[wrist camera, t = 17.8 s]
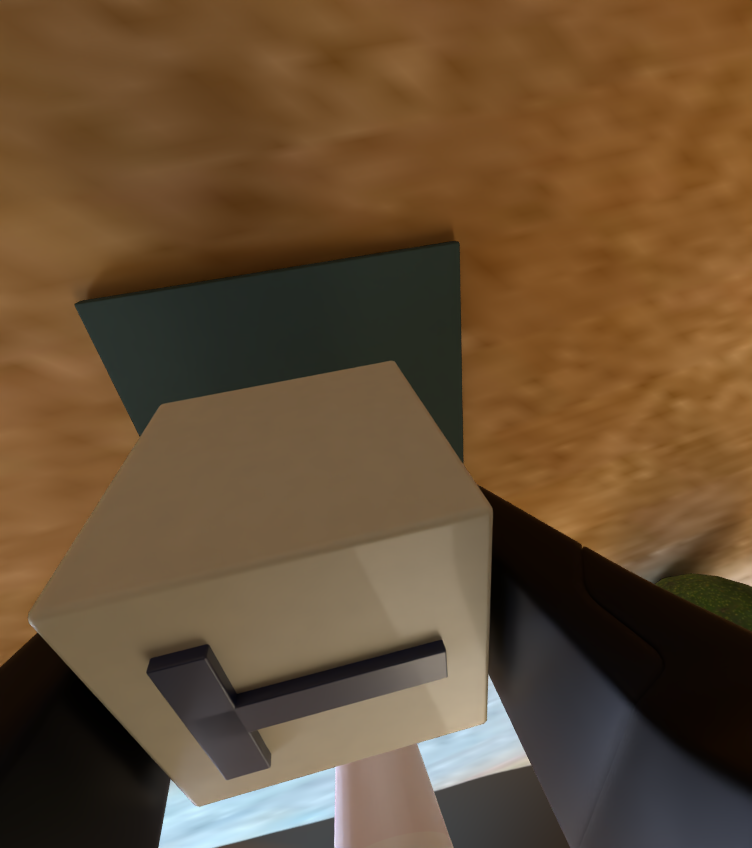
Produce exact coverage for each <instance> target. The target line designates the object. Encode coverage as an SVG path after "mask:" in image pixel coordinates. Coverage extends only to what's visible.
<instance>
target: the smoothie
mask: <svg viewBox="0 0 752 848" xmlns="http://www.w3.org/2000/svg"><path fill="white" fill-rule="evenodd" d="M334 837H335V840H334V842H335V843H334V848H453V845H452V842H451V839H450V837H449V834H448V832H447V828H446V826H445V823H444V820H443V817H442V814H441V811H440V808H439V805H438V803H437V800H436V797H435V794H434V791H433V788H432V785H431V782H430V779H429V777H428V774H427V771H426V768H425V765H424V762H423V759H422V756H421V754H420V751H419V748H418V745H417V743H416V744H412V745H409V746H406V747H402V748H399V749H395V750H392V751H388V752H385V753H382V754H378V755H375V756H371V757H368V758H364V759H361V760H358V761H354V762H351V763H347V764H344V765H340V766H337V767H336V773H335V836H334Z"/></svg>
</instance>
